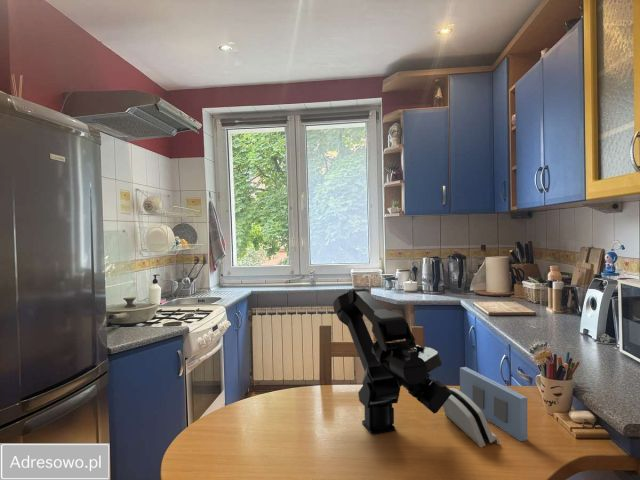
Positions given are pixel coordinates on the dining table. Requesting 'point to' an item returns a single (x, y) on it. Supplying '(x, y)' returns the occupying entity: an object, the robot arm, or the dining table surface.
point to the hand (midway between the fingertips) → (440, 405)
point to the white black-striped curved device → (468, 417)
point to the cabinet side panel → (496, 402)
